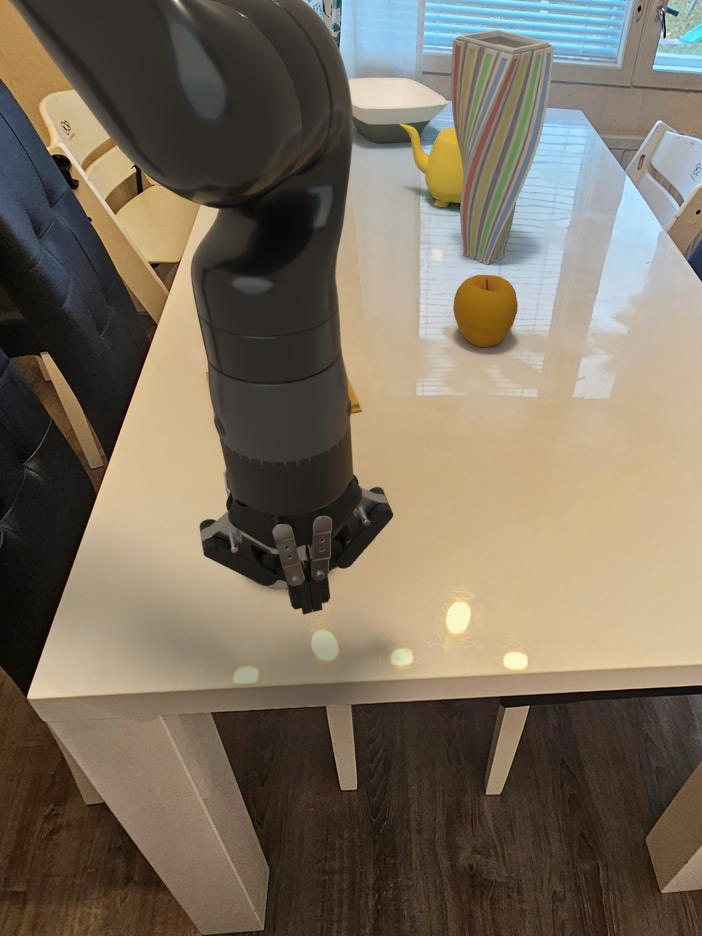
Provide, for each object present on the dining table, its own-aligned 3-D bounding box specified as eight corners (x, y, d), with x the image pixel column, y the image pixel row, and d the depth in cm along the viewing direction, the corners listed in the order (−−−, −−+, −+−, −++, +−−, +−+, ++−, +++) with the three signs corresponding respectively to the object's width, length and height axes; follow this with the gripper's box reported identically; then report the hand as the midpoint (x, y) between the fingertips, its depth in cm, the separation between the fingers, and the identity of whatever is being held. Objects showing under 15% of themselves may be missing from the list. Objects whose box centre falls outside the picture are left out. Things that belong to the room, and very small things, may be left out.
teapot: (503, 219, 127) (511, 143, 118) (393, 206, 127) (393, 129, 118) (506, 192, 137) (514, 120, 128) (404, 180, 137) (405, 107, 128)
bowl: (409, 116, 167) (409, 75, 162) (454, 147, 154) (457, 104, 148) (320, 122, 158) (317, 79, 153) (360, 155, 145) (359, 110, 139)
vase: (426, 254, 114) (433, 34, 93) (475, 231, 122) (492, 24, 102) (494, 282, 109) (518, 56, 88) (540, 256, 117) (572, 44, 97)
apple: (484, 318, 101) (490, 258, 94) (526, 344, 96) (535, 283, 90) (439, 335, 96) (442, 273, 90) (480, 363, 92) (487, 300, 86)
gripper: (378, 367, 45) (382, 550, 57) (158, 396, 41) (212, 587, 53) (413, 436, 40) (409, 620, 53) (167, 478, 36) (224, 667, 48)
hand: (310, 603), depth 53 cm, fingers closed
